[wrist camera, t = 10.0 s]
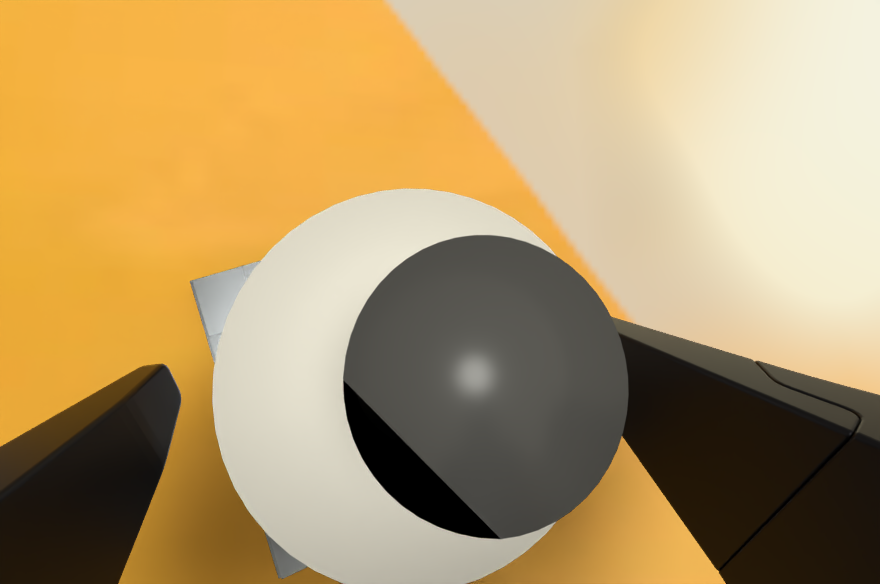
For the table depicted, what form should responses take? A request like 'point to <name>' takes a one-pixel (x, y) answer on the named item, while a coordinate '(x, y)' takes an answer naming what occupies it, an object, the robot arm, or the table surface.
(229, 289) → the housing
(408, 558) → the white bottle
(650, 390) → the robot arm
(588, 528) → the table surface
